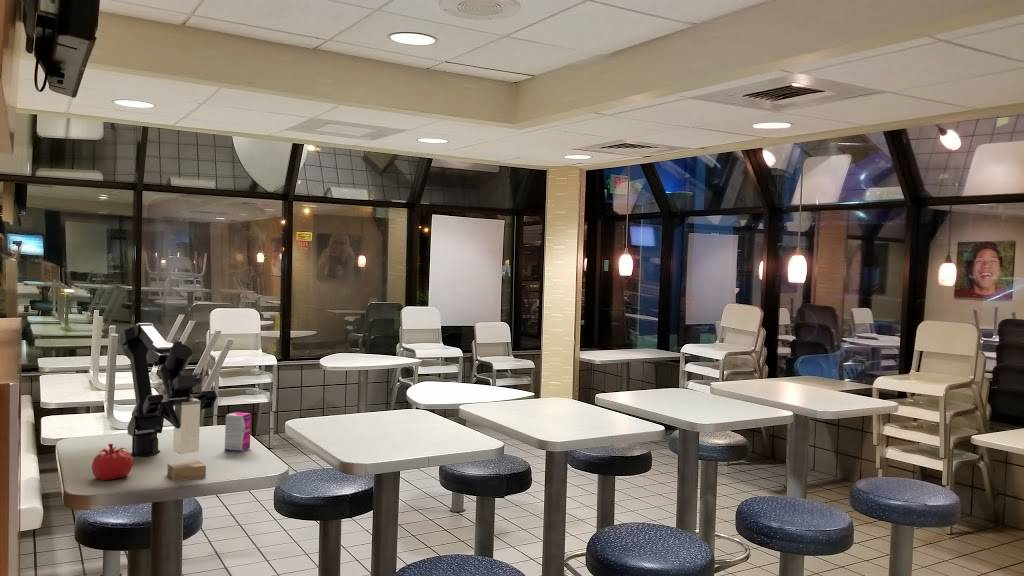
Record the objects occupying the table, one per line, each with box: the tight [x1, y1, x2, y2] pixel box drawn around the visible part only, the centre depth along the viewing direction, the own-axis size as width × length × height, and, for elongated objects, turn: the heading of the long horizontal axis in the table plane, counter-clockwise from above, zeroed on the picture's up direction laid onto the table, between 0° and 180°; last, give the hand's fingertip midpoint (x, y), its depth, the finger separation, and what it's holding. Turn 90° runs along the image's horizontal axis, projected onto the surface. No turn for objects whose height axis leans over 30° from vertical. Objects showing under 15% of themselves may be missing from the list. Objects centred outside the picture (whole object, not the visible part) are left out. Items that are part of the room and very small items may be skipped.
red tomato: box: [91, 443, 134, 481], centre depth 210 cm, size 10×10×9 cm
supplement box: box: [224, 411, 252, 453], centre depth 245 cm, size 6×6×12 cm
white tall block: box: [172, 398, 201, 455], centre depth 214 cm, size 5×5×14 cm
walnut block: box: [166, 459, 207, 482], centre depth 214 cm, size 8×8×4 cm
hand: (188, 426), depth 213 cm, fingers closed on white tall block, 5 cm apart
